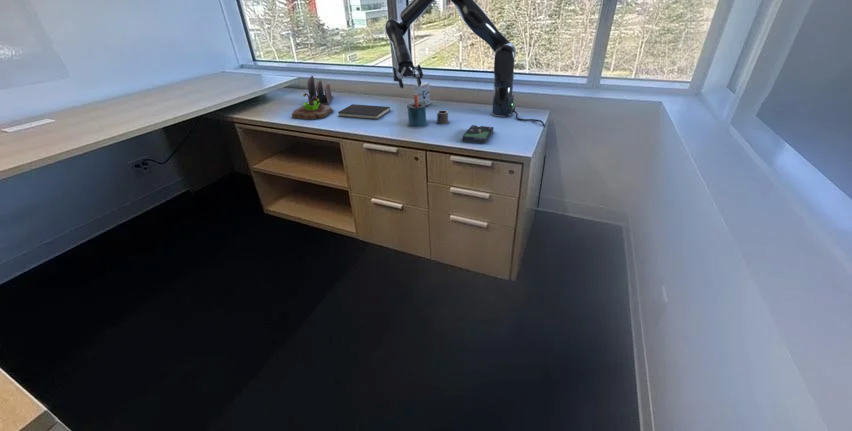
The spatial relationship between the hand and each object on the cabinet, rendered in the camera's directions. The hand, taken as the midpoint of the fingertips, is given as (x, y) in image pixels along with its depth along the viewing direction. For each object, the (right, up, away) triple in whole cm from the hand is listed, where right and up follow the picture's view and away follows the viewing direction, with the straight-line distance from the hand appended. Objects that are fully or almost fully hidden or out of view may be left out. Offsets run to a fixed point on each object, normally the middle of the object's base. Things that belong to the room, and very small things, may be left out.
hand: (411, 86), depth 181 cm
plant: (-55, -6, +26) cm, 61 cm away
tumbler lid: (+3, -10, -2) cm, 11 cm away
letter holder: (-56, +7, +47) cm, 74 cm away
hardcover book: (-26, -7, +23) cm, 35 cm away
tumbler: (+3, -18, +3) cm, 18 cm away
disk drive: (+30, -27, -14) cm, 43 cm away
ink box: (+5, 0, +32) cm, 32 cm away
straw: (+3, -17, +3) cm, 18 cm away
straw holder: (+15, -16, +4) cm, 23 cm away
